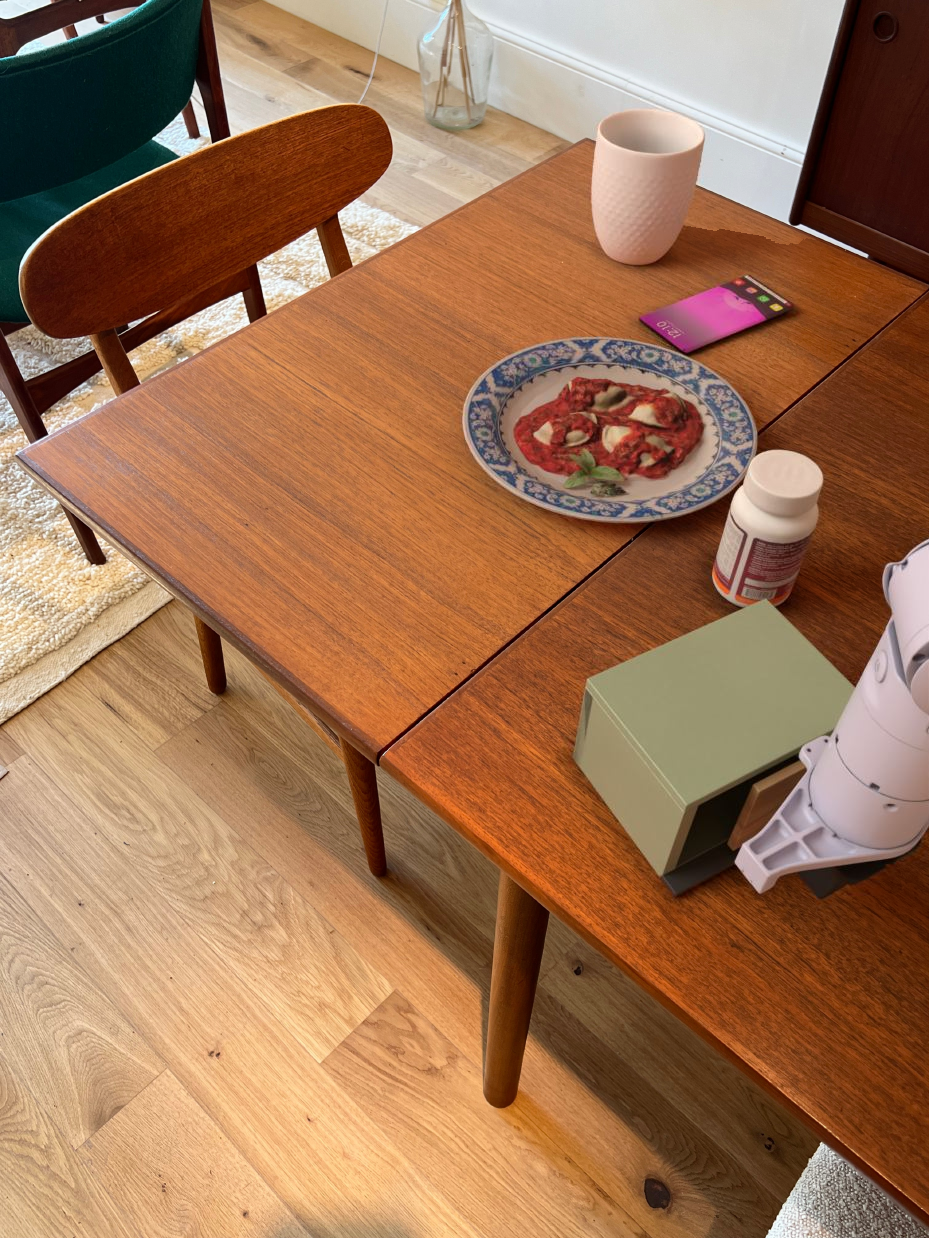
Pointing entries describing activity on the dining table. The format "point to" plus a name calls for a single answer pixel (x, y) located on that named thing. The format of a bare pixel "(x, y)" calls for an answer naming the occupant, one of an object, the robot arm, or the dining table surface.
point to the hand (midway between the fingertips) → (816, 880)
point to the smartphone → (716, 314)
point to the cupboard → (703, 734)
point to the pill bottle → (768, 529)
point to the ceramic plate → (609, 429)
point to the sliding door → (765, 802)
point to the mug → (643, 182)
